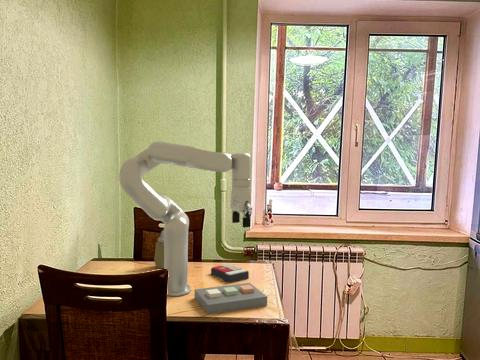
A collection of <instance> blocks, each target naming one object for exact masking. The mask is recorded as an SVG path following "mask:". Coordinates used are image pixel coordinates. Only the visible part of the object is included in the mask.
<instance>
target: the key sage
mask: <svg viewBox="0 0 480 360" xmlns="http://www.w3.org/2000/svg"><path fill="white" fill-rule="evenodd" d="M223 293H224V294H225V295H226V296H231V295H238V290H237V289H236V288H235V287H227V288H223Z"/></svg>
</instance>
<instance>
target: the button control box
mask: <svg viewBox="0 0 480 360" xmlns="http://www.w3.org/2000/svg"><path fill="white" fill-rule="evenodd" d="M210 275H213V276H215V277H216V278H219V279H221V280H223V281H225V282H226V283H229V284H232V283H235V282H241V281H245V280H249V278H250V277H249V275H250V273H249V271H248V270H246V269H245V268H242V267H239V266H235V265H234V264H232V263H231V264H230V263H228V264H223V265H216V266H212V268H210Z"/></svg>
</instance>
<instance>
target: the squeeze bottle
mask: <svg viewBox="0 0 480 360" xmlns="http://www.w3.org/2000/svg"><path fill="white" fill-rule="evenodd" d="M153 261H154V264H155V268H157V269H159V270H160V269H161V270H162V268H164V230H161V231H160V236H159V237H158V238H157V242H156V243H155V250H154V258H153Z"/></svg>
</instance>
